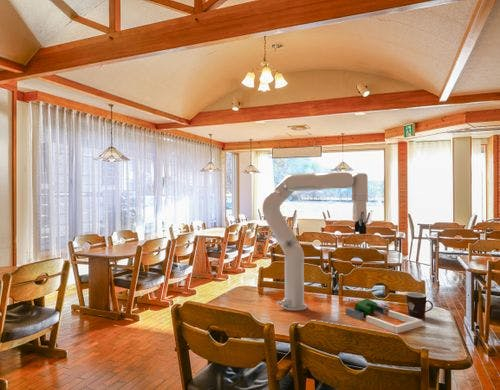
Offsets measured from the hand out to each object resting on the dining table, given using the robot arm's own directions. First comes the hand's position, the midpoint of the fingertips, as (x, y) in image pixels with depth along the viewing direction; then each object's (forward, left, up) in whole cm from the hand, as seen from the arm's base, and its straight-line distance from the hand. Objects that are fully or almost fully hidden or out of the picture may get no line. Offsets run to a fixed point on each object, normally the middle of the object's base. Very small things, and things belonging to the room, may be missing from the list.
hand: (360, 232), depth 180 cm
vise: (-2, -8, -37) cm, 38 cm away
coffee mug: (+11, -24, -37) cm, 46 cm away
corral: (-5, -23, -37) cm, 44 cm away
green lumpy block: (-5, -7, -38) cm, 39 cm away
